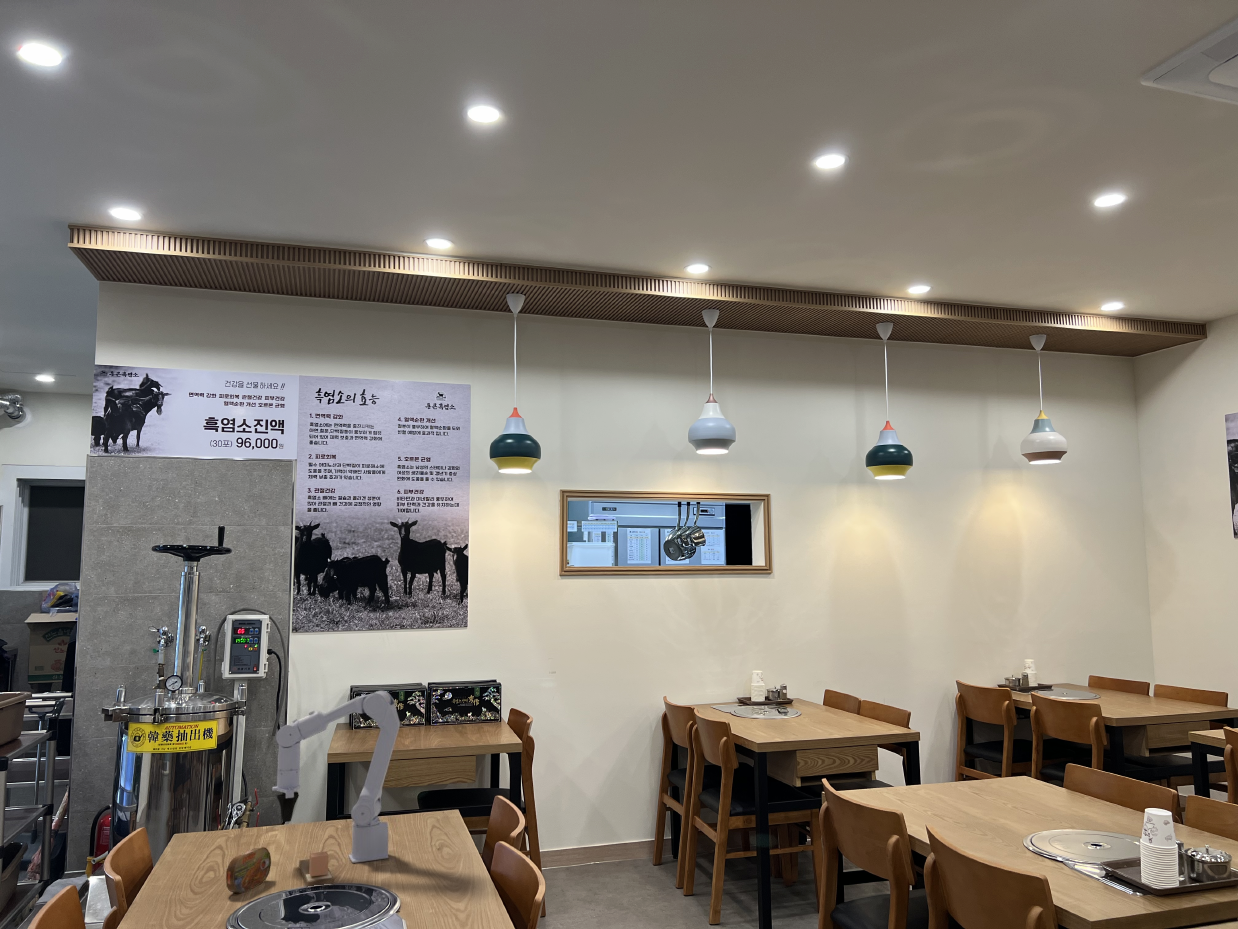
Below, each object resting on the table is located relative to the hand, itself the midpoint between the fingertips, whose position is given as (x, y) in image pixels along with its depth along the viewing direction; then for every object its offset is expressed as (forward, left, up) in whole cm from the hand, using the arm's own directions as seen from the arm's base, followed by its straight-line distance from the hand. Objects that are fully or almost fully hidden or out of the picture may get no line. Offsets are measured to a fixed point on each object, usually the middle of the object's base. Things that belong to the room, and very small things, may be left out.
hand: (286, 821), depth 234 cm
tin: (+10, +20, -11) cm, 25 cm away
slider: (-6, +24, -9) cm, 26 cm away
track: (-6, +18, -10) cm, 22 cm away
